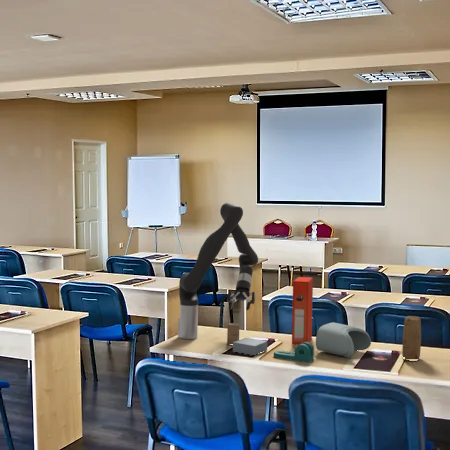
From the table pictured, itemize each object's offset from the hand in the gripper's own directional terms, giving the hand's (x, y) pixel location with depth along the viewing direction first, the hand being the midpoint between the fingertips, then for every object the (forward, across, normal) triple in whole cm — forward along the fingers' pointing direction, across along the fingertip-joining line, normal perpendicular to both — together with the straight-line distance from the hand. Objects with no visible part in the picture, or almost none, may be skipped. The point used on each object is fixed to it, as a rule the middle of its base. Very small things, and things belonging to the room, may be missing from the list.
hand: (239, 309), depth 333 cm
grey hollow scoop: (+20, +54, +3) cm, 57 cm away
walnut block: (+19, 0, +3) cm, 19 cm away
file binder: (+7, +32, +16) cm, 36 cm away
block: (+22, +85, +3) cm, 88 cm away
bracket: (+32, +32, -9) cm, 46 cm away
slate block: (+28, +10, -5) cm, 30 cm away
